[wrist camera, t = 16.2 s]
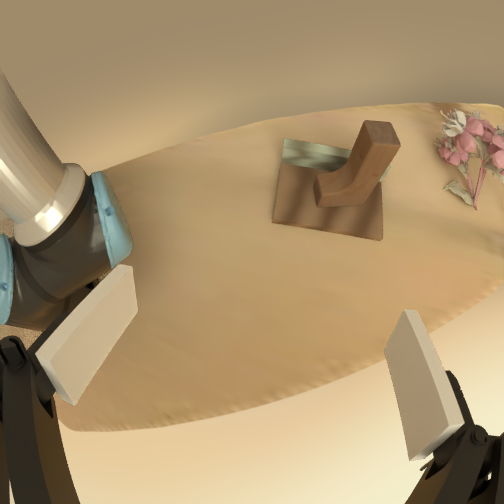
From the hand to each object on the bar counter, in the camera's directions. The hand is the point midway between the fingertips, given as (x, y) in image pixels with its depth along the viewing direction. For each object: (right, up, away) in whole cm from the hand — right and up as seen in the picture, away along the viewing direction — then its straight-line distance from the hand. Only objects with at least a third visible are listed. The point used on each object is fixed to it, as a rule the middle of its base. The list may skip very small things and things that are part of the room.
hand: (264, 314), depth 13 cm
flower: (+46, +22, +41) cm, 66 cm away
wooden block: (+15, +13, +37) cm, 42 cm away
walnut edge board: (+14, +13, +39) cm, 43 cm away
